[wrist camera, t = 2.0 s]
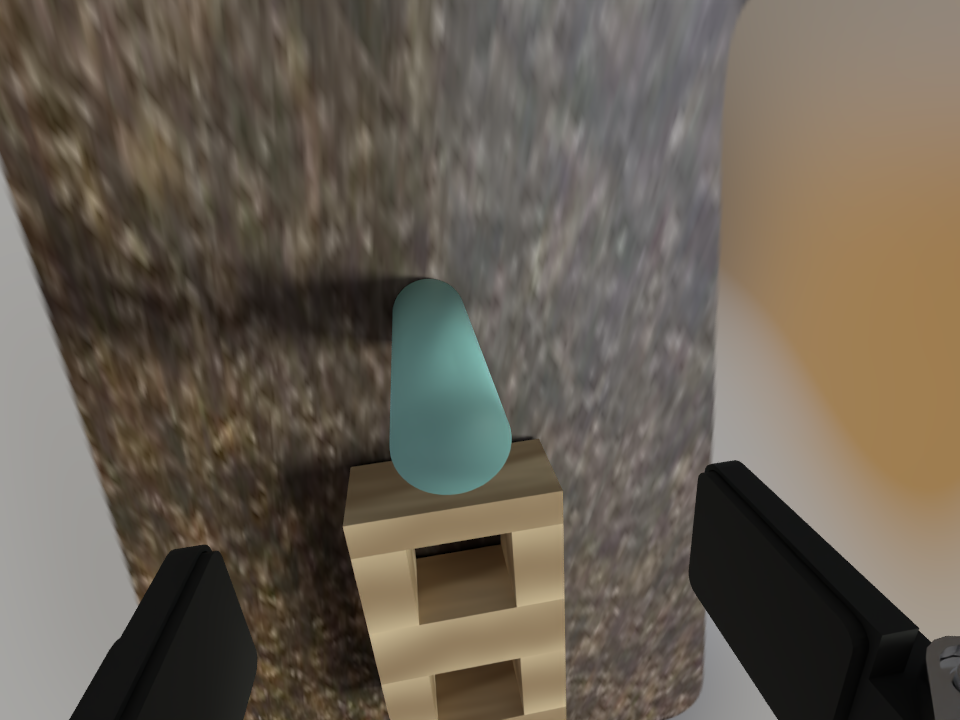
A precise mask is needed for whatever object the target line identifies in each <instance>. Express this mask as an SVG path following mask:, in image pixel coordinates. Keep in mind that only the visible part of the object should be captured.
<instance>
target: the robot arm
mask: <svg viewBox="0 0 960 720" xmlns="http://www.w3.org/2000/svg"><path fill="white" fill-rule="evenodd" d="M689 580H690V583H691V586H692V589H693V591H694V592H695V594H696V596H697V597H698V599H699V600H700V602H701V603H702V605H703V606H704V608H705V609H706V611H707V612H708V614H709V615H710V617H711V618H712V620H713V621H714V623H715V624H716V626H717V627H718V629H719V631H720V632H721V634H722V635H723V636H724V638H725V640H726V641H727V643H728V644H729V646H730V647H731V649H732V650H733V652H734V653H735V655H736V656H737V658H738V660H739V661H740V662H741V664H742V666H743V667H744V669H745V670H746V672H747V673H748V675H749V676H750V678H751V679H752V681H753V682H754V684H755V685H756V687H757V688H758V690H759V692H760V693H761V694H762V696H763V698H764V699H765V701H766V702H767V704H768V705H769V706H770V708H771V710H772V711H773V713H774V714H775V716H776V717H777V719H778V720H960V636H945V637H942V638H939V639H936V640H934V641H933V642H932V643H931V642H930V641H929V640H928V639H927V638H926V637H925V636H924V635H923V634H922V633H921V632H920V631H919V628H918V627H917V626H916V625H915V624H914V623H913V622H912V621H911V620H910V619H909V618H908V617H907V616H906V615H905V614H903V613H902V612H901V611H900V610H899V609H898V608H897V607H896V606H895V605H894V604H893V603H891V602H890V600H888V599H887V598H886V597H885V596H884V595H883V594H882V593H881V592H880V591H879V590H878V589H877V588H875V586H873V585H872V584H871V583H870V582H869V581H868V580H867V579H866V578H865V577H864V576H863V575H862V574H861V573H859V572H858V571H857V570H856V569H855V568H854V567H853V566H852V565H851V564H850V563H849V562H848V561H846V560H845V559H844V558H843V557H842V556H841V555H840V554H839V553H838V552H837V551H836V550H835V549H834V548H833V547H832V546H831V545H829V544H828V543H827V542H826V541H825V540H824V539H823V538H822V537H821V536H820V535H819V534H818V533H817V532H816V531H814V530H813V529H812V528H811V527H810V526H809V525H808V524H807V523H806V522H805V521H804V520H803V519H802V518H800V517H799V516H798V515H797V514H796V513H795V512H794V511H793V510H792V509H791V508H790V507H789V506H788V505H787V504H786V503H784V502H783V501H782V500H781V499H780V498H779V497H778V496H777V495H776V494H775V493H774V492H773V491H772V490H770V489H769V488H768V487H767V486H766V485H765V484H764V483H763V482H762V481H761V480H760V479H759V478H758V477H757V476H755V475H754V474H753V473H752V472H751V471H750V470H749V469H748V468H747V467H746V466H745V465H744V464H742V463H741V462H739V461H736V460H734V461H727V462H721V463H715V464H710V465H708V466H707V467H706V468H705V473H701V474H700V475H699V477H698V484H697V494H696V504H695V514H694V524H693V534H692V544H691V554H690V564H689ZM256 670H257V652H256V649H255V646H254V643H253V640H252V637H251V635H250V632H249V629H248V626H247V624H246V621H245V618H244V615H243V613H242V610H241V607H240V604H239V602H238V599H237V596H236V593H235V590H234V588H233V585H232V582H231V579H230V577H229V574H228V571H227V568H226V566H225V563H224V560H223V557H222V555H221V553H220V552H219V551H213V552H212V550H211V549H210V547H209V546H208V545H199V546H193V547H186V548H180V549H174V550H172V551H170V552H169V554H168V555H167V556H166V558H165V560H164V562H163V563H162V565H161V567H160V569H159V571H158V572H157V574H156V576H155V578H154V579H153V581H152V583H151V585H150V586H149V588H148V590H147V592H146V593H145V595H144V597H143V599H142V601H141V602H140V604H139V606H138V608H137V609H136V611H135V613H134V615H133V616H132V618H131V620H130V622H129V623H128V625H127V627H126V629H125V630H124V632H123V634H122V636H121V638H120V639H118V640H117V641H116V642H115V643H114V645H113V646H112V647H111V649H110V650H109V652H108V654H107V655H106V657H105V659H104V660H103V662H102V664H101V666H100V667H99V669H98V671H97V673H96V674H95V676H94V678H93V679H92V681H91V683H90V685H89V686H88V688H87V690H86V692H85V693H84V695H83V697H82V699H81V700H80V702H79V704H78V706H77V707H76V709H75V711H74V712H73V714H72V716H71V718H70V719H69V720H243V719H244V715H245V711H246V708H247V704H248V700H249V697H250V693H251V689H252V686H253V682H254V678H255V675H256Z"/></svg>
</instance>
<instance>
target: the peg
mask: <svg viewBox="0 0 960 720" xmlns="http://www.w3.org/2000/svg"><path fill="white" fill-rule="evenodd" d="M511 443H512V436H511V429H510V426H509V423H508V420H507V417H506V415H505V412H504V410H503V407H502V404H501V402H500V399H499V396H498V394H497V391H496V388H495V386H494V383H493V381H492V378H491V375H490V373H489V370H488V367H487V365H486V362H485V360H484V357H483V354H482V352H481V349H480V346H479V344H478V341H477V338H476V336H475V333H474V331H473V328H472V325H471V323H470V320H469V317H468V315H467V312H466V310H465V307H464V304H463V302H462V299H461V297H460V296H459V294H458V293H457V291H456V290H455V289H454V288H453V287H451V286H450V285H449V284H447V283H445V282H443V281H440V280H436V279H422V280H418V281H415V282H413V283H411V284H409V285H407V286H406V287H405V288H404V289H403V290H402V291H401V292H400V293H399V294H398V296H397V298H396V300H395V302H394V306H393V317H392V362H391V406H390V455H391V459H392V462H393V464H394V467H395V468H396V470H397V472H398V473H399V474H400V475H401V477H402V478H403V479H404V480H406V481H407V482H408V483H409V484H411V485H412V486H414V487H416V488H418V489H420V490H422V491H425V492H428V493H433V494H439V495H453V494H460V493H465V492H468V491H471V490H474V489H476V488H478V487H480V486H482V485H484V484H485V483H487V482H488V481H489V480H491V479H492V478H493V477H494V476H495V475H496V474H497V473H498V472H499V471H500V470H501V468H502V467H503V465H504V464H505V462H506V460H507V458H508V456H509V453H510V449H511Z"/></svg>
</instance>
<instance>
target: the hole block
mask: <svg viewBox="0 0 960 720" xmlns="http://www.w3.org/2000/svg"><path fill="white" fill-rule="evenodd" d="M343 530H344V534H345V538H346V542H347V546H348V550H349V554H350V558H351V562H352V566H353V570H354V575H355V579H356V583H357V587H358V591H359V595H360V599H361V603H362V607H363V611H364V615H365V619H366V624H367V628H368V632H369V636H370V640H371V644H372V648H373V652H374V656H375V660H376V664H377V669H378V673H379V677H380V681H381V685H382V689H383V693H384V697H385V701H386V705H387V709H388V714H389V718H390V720H566V676H565V610H564V543H563V490H562V488H561V486H560V484H559V482H558V480H557V477H556V475H555V473H554V471H553V469H552V467H551V464H550V462H549V460H548V458H547V456H546V453H545V451H544V449H543V447H542V445H541V443H540V440H539V439H534V440H527V441H521V442H514V443H511V449H510V453H509V456H508V458H507V460H506V462H505V464H504V465H503V467H502V468H501V470H500V471H499V472H498V473H497V474H496V475H495V476H494V477H493V478H492V479H491V480H489V481H488V482H487V483H485V484H484V485H482V486H480V487H478V488H476V489H474V490H471V491H468V492H465V493H460V494H453V495H439V494H433V493H428V492H425V491H422V490H420V489H418V488H416V487H414V486H412V485H411V484H409V483H408V482H407V481H406V480H404V479H403V478H402V477H401V475H400V474H399V473H398V472H397V470H396V468H395V467H394V464H393V462H392V461H388V462H381V463H375V464H368V465H361V466H355V467H351V469H350V476H349V484H348V491H347V499H346V506H345V514H344V521H343ZM499 534H500V538H501V544H500V545H494V546H488V547H483V548H477V549H471V550H465V551H459V552H453V553H447V554H442V555H436V556H430V557H424V558H418V559H416V555H415V548H421V547H427V546H433V545H439V544H445V543H451V542H457V541H463V540H469V539H475V538H481V537H487V536H493V535H499Z"/></svg>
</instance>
